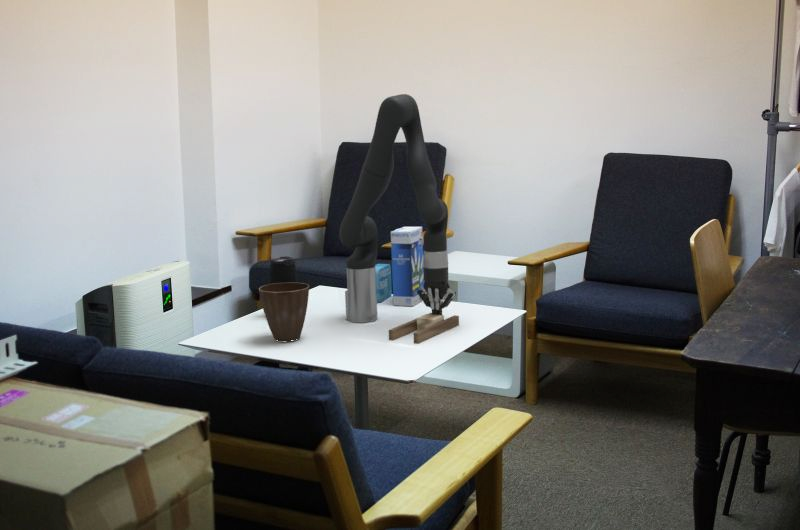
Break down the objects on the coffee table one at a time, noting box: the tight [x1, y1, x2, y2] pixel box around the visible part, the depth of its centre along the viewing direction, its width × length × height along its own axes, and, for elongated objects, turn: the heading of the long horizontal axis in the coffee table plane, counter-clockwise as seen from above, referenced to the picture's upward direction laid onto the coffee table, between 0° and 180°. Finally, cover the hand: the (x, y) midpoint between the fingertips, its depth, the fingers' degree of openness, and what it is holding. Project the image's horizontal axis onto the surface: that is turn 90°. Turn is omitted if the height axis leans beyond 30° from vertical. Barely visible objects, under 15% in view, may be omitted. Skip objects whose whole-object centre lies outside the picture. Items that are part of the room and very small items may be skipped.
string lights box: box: [390, 226, 424, 307], centre depth 320 cm, size 13×8×26 cm, turn 160°
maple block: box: [416, 313, 445, 332], centre depth 280 cm, size 6×6×4 cm
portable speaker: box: [268, 255, 299, 285], centre depth 306 cm, size 9×9×20 cm
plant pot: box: [258, 282, 310, 342], centre depth 276 cm, size 15×15×16 cm
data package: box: [375, 263, 393, 303], centre depth 328 cm, size 12×4×12 cm, turn 159°
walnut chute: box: [388, 312, 460, 345], centre depth 277 cm, size 10×24×4 cm, turn 148°
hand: (437, 320), depth 283 cm, fingers closed
